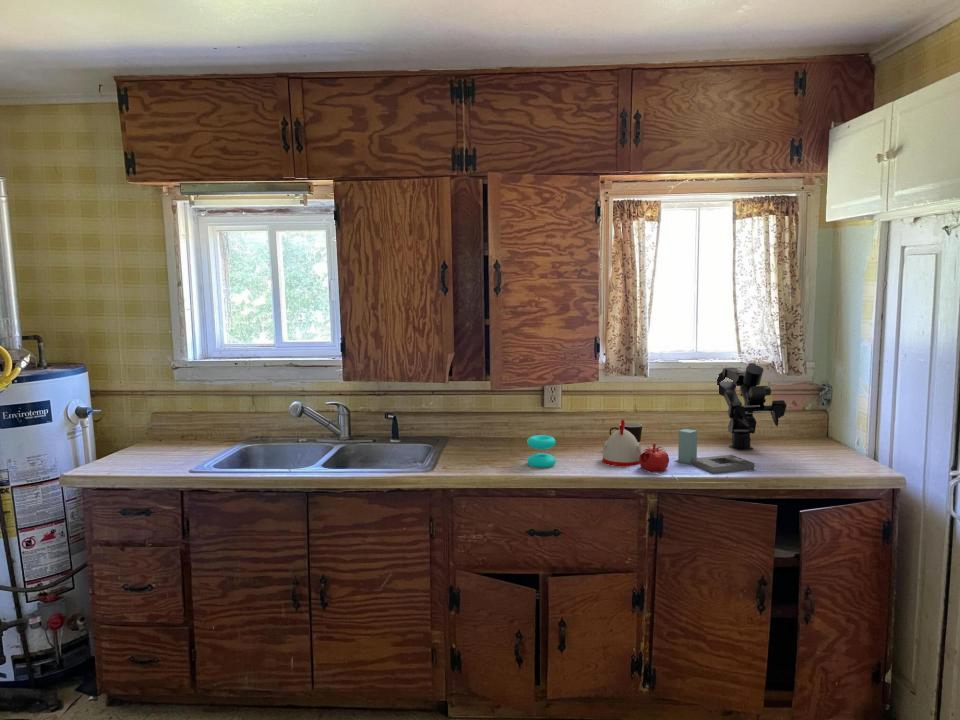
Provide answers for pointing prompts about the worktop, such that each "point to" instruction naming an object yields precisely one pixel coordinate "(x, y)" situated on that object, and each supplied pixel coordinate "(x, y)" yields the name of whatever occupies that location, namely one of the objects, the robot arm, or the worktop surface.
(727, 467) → the plate
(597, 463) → the worktop surface
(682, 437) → the block
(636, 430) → the coffee mug
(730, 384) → the robot arm
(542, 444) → the donuts
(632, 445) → the kitchen timer
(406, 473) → the worktop surface
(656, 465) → the pomegranate
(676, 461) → the mat
